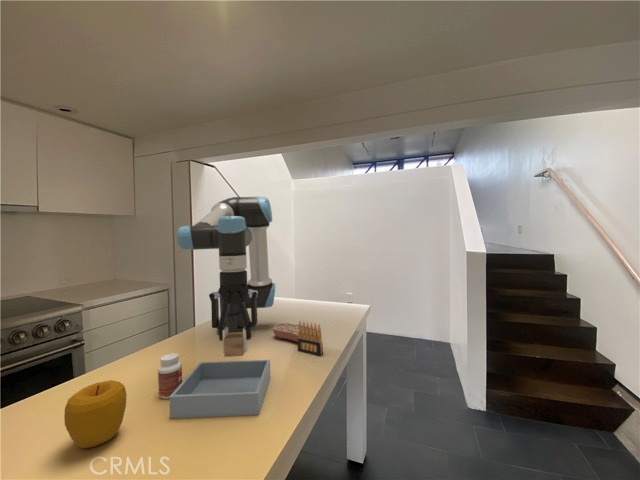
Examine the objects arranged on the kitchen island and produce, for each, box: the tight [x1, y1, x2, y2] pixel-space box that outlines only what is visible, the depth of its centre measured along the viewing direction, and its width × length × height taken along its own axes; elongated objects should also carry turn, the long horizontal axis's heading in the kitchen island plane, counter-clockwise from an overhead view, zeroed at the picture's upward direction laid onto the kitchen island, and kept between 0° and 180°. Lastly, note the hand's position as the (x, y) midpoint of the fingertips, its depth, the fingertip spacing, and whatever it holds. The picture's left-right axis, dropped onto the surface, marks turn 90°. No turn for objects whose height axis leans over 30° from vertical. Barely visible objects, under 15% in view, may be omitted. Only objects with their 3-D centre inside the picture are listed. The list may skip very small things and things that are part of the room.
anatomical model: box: [272, 323, 318, 343], centre depth 118 cm, size 23×10×5 cm, turn 56°
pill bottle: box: [157, 352, 183, 400], centre depth 80 cm, size 6×6×11 cm
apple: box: [63, 379, 128, 449], centre depth 62 cm, size 11×11×13 cm
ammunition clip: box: [297, 320, 324, 357], centre depth 105 cm, size 11×2×12 cm, turn 60°
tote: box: [168, 359, 271, 419], centre depth 78 cm, size 19×23×6 cm
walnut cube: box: [223, 332, 246, 358], centre depth 77 cm, size 5×5×5 cm
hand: (235, 350), depth 78 cm, fingers closed on walnut cube, 5 cm apart
